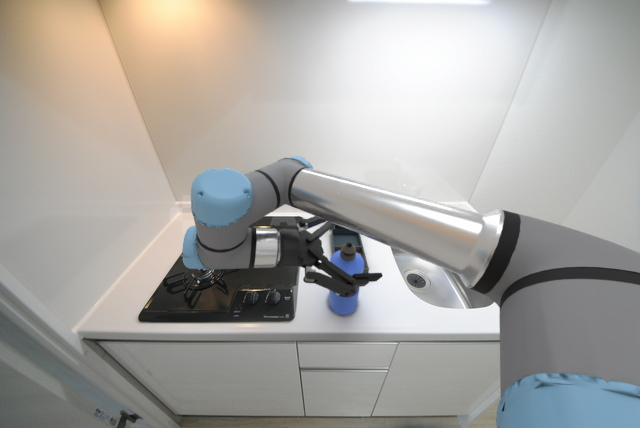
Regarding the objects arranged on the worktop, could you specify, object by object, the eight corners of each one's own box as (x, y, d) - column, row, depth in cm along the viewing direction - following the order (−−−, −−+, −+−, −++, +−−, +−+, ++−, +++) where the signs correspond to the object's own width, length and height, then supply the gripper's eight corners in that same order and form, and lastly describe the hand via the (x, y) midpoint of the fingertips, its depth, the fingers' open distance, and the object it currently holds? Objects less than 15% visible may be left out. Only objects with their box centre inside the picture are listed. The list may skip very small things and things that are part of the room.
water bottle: (354, 319, 63) (364, 262, 49) (325, 310, 66) (326, 253, 52) (359, 293, 71) (369, 237, 57) (332, 286, 73) (335, 230, 59)
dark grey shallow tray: (367, 276, 77) (369, 269, 74) (334, 277, 76) (334, 269, 74) (357, 235, 96) (358, 228, 94) (331, 235, 96) (331, 228, 94)
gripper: (272, 211, 51) (348, 217, 59) (277, 322, 36) (379, 310, 44) (277, 190, 46) (360, 199, 54) (286, 308, 31) (400, 298, 38)
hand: (368, 249), depth 49 cm, fingers open, 13 cm apart
